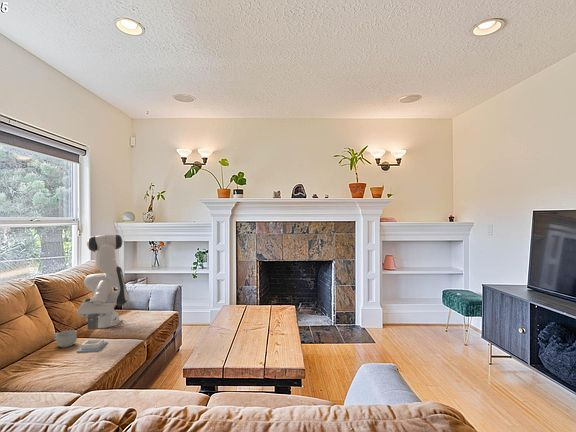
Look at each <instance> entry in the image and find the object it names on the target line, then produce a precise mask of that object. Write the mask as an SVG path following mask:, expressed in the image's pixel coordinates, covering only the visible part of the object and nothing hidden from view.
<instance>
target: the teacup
mask: <svg viewBox="0 0 576 432" xmlns="http://www.w3.org/2000/svg"><path fill="white" fill-rule="evenodd" d="M77 333H78V331H77V330H75V329H70V330H63V331H60V332H55V333H54V334H53V336H52V338H53V340H55V341H56V344H57V346H58V347H60V348H68V347H71V346H73V345H74V344H75V343H76V342H77V335H78V334H77Z"/></svg>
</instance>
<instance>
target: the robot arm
mask: <svg viewBox="0 0 576 432" xmlns="http://www.w3.org/2000/svg"><path fill="white" fill-rule="evenodd" d="M123 242H124V241H123V238H122V236H121V235H120V234H103V235H96V236H95V235H93V236H92V235H91V236H89V237H88V239H87V242H86V246H87V248H88V250H90V251H92V252H93V253H95V267H96V268H97V269H98V270H99V271H100V272H101V273H92V274H88V275H87V276H85V277H84V281H83V286H84V287H85V288H87V289H88V290H89V291H91V293H92V294H93V296H91V297H89V298H88V297H87V298H85V299H83V300H82V303H81V304H80V306H79V307H78V310H77V312H76V314H77V316H78V317H79V318H81V317H84V318H85V323H88V316H90V315H98V318H97V320H96V322H98V328H97V329H105V328H110V327H115V326H117V325H118V324H120V323H121V322H122V321H123V319H122V318H120V314H119V313H118V312H117V311H115V308H116V306H123V305H125V304H126V303H127V302H128V301H129V292H128V290H127V285H126V282H125V278H124V277H125V276H124V272H123V269H122V268H121V266H119V265H118V263H117V259H116V257H117V255H116V250H118V249H121V248H122V246H123ZM116 287H117V290H112V288H116Z"/></svg>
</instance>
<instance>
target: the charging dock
mask: <svg viewBox="0 0 576 432" xmlns="http://www.w3.org/2000/svg"><path fill="white" fill-rule="evenodd" d="M107 344H108V341H105V339H104V338H101V339H87V340H86V341H84V342H82V344H81V345H80V347H79V349H77V350H76V354H79V353H95V352H100V351H101V349H103V348H104V347H106V345H107Z"/></svg>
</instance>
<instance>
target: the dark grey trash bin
mask: <svg viewBox="0 0 576 432" xmlns="http://www.w3.org/2000/svg"><path fill="white" fill-rule="evenodd" d="M97 318H98V315H90V316H88V322H87V330H88V331H91V330H92V331H95V330H97V329H99V328H98V322H96V320H97Z"/></svg>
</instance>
